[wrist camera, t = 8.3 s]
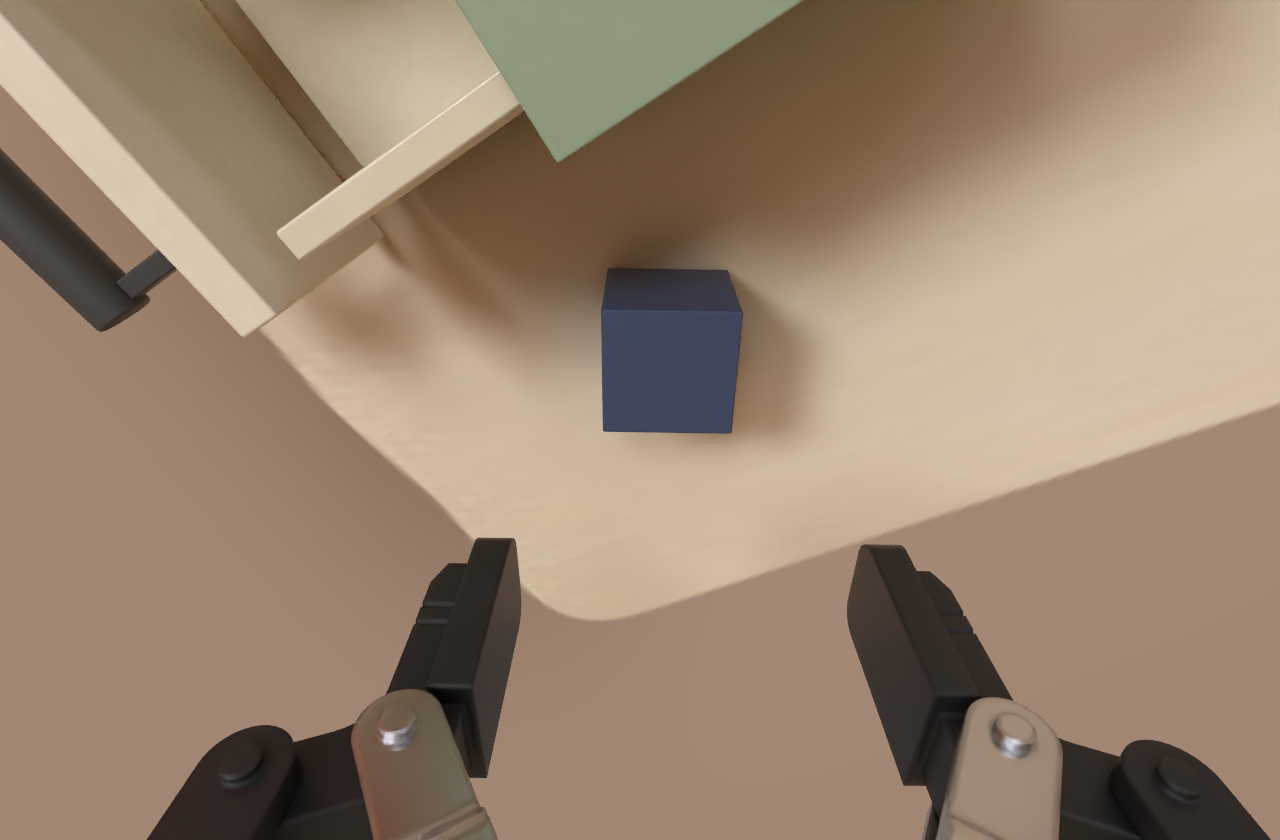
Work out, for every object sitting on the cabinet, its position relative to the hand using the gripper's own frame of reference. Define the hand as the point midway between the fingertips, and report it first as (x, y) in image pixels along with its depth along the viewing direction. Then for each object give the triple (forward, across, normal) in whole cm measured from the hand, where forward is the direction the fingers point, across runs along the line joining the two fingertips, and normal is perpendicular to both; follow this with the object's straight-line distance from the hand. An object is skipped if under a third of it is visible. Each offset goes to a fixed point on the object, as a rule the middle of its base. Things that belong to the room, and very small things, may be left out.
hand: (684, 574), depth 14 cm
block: (+14, 0, 0) cm, 14 cm away
